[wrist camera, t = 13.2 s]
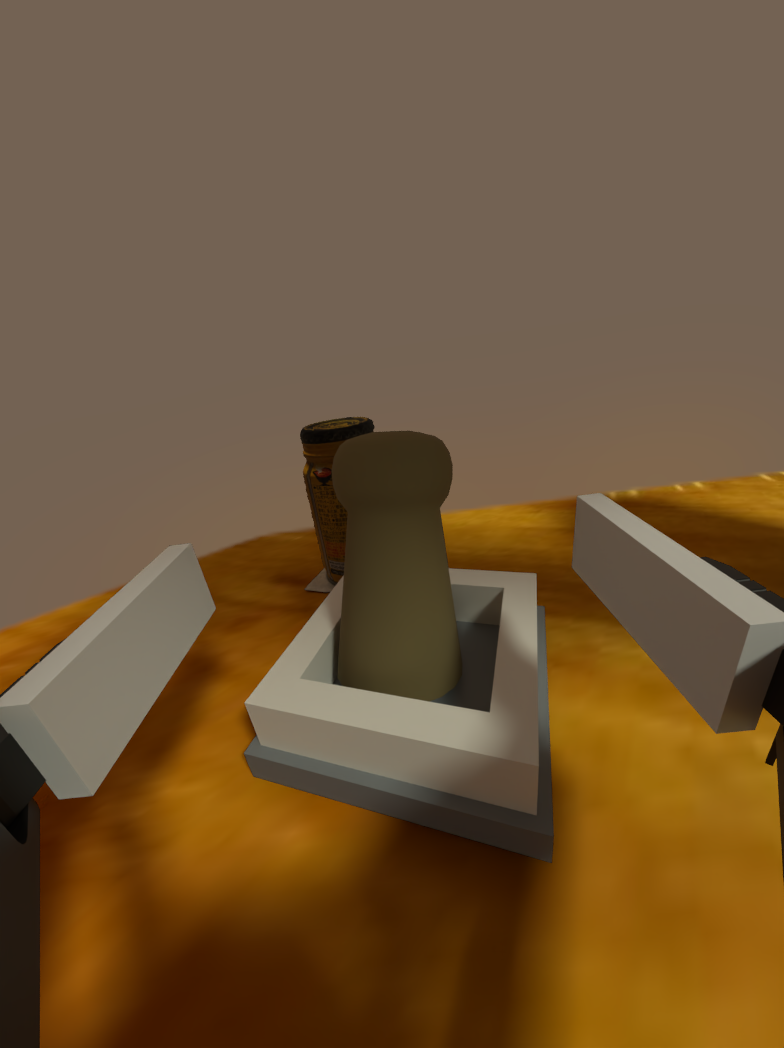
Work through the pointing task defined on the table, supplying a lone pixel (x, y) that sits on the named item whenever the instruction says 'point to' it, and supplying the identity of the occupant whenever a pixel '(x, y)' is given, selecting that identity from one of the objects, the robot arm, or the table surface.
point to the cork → (396, 566)
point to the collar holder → (423, 724)
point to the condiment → (328, 492)
